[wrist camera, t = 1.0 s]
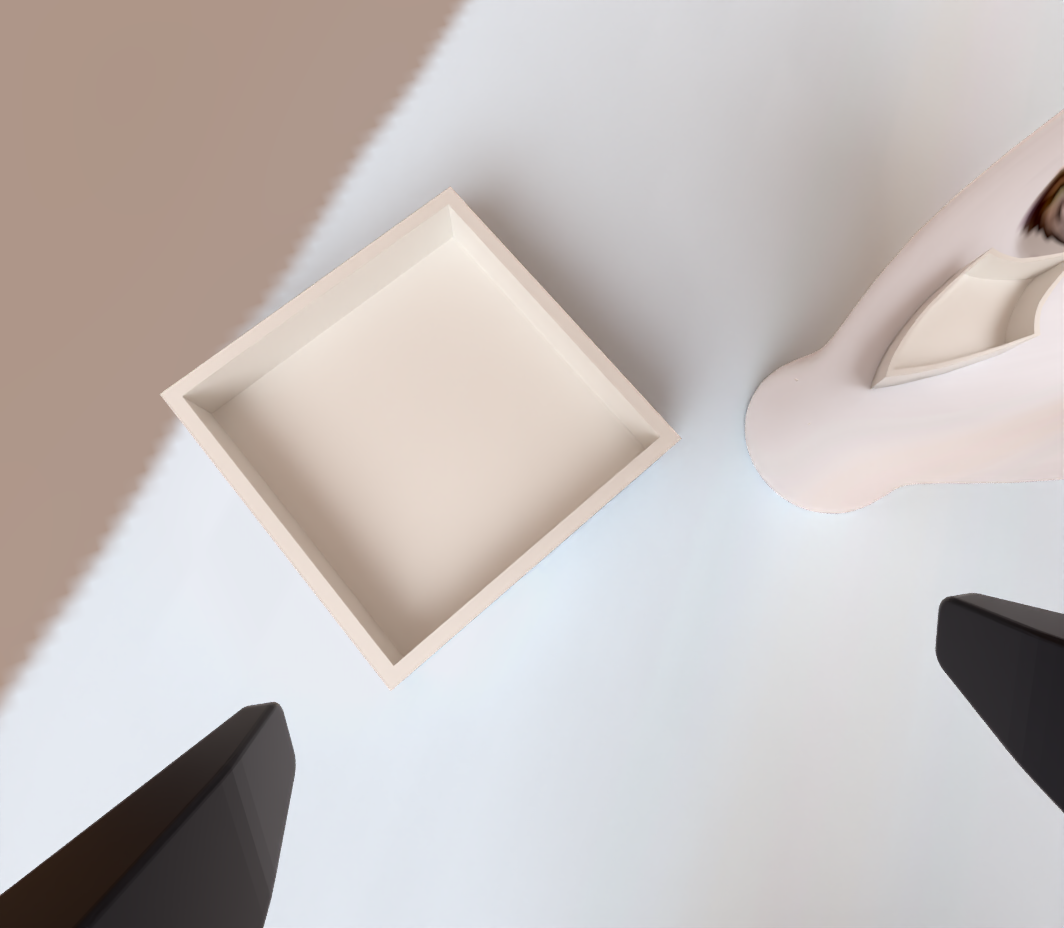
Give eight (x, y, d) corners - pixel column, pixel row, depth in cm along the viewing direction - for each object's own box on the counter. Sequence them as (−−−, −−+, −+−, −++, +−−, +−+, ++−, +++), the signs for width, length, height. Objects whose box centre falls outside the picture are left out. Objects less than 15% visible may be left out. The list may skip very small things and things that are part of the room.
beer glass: (857, 326, 24) (1390, -75, 10) (943, 486, 23) (1700, 304, 8) (701, 385, 24) (1023, 48, 9) (781, 554, 22) (1305, 486, 8)
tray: (659, 457, 23) (681, 438, 20) (407, 676, 21) (390, 691, 18) (457, 234, 24) (450, 186, 22) (205, 419, 23) (160, 393, 20)
